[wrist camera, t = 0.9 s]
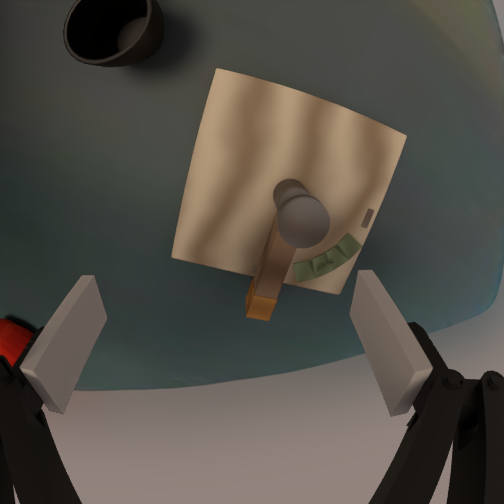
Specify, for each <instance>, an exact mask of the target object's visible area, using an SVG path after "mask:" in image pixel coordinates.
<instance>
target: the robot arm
mask: <svg viewBox="0 0 504 504" xmlns="http://www.w3.org/2000/svg"><path fill="white" fill-rule="evenodd" d="M349 315H350V317H351V320H352V322H353V324H354V327H355V329H356V331H357V334H358V336H359V338H360V341H361V343H362V345H363V348H364V350H365V353H366V355H367V357H368V360H369V362H370V364H371V367H372V370H373V372H374V375H375V377H376V380H377V382H378V385H379V387H380V390H381V392H382V395H383V398H384V400H385V403H386V405H387V408H388V411H389V413H390V416H391V417H392V416H396V415H401V414H405V413H407V412H408V411H409V409H410V407H411V406H412V404H413V406H414V409H415V411H416V412H415V413H414V415H413V416H412V418H411V419H410V421H409V422H408V424H407V426H408V429H407V431H406V433H405V436H404V438H403V440H402V442H401V444H400V446H399V448H398V451H397V453H396V455H395V457H394V459H393V461H392V462H391V464H390V467H389V468H388V470H387V472H386V474H385V476H384V478H383V479H382V481H381V483H380V485H379V487H378V488H377V490H376V492H375V494H374V495H373V497H372V499H371V500H370V502H369V504H429V503H430V500H431V498H432V496H433V493H434V491H435V489H436V486H437V484H438V481H439V478H440V476H441V473H442V471H443V468H444V465H445V462H446V459H447V457H448V454H449V451H450V447H451V444H452V441H453V451H452V464H451V475H450V483H449V490H448V498H447V504H504V377H503V376H502V375H501V374H499V373H498V372H495V371H487V372H485V373H484V374H483V376H482V378H481V379H480V380H475V379H465V378H464V377H463V376H462V375H461V374H460V373H459V372H457V371H455V370H452V369H448V367H447V366H446V364H445V362H444V361H443V359H442V357H441V356H440V354H439V352H438V351H437V349H436V348H435V346H434V345H433V343H432V341H431V340H430V339H429V337H428V335H427V333H426V332H425V330H424V329H423V328H422V327H421V326H420V325H418V324H417V323H416V322H411V323H406V321H405V319H404V318H403V316H402V315H401V313H400V311H399V310H398V308H397V307H396V305H395V304H394V302H393V300H392V299H391V297H390V296H389V294H388V293H387V291H386V290H385V288H384V287H383V285H382V284H381V282H380V281H379V279H378V278H377V276H376V275H375V273H374V272H373V270H358V274H357V280H356V285H355V290H354V295H353V300H352V305H351V309H350V314H349ZM106 320H107V315H106V312H105V309H104V306H103V303H102V300H101V297H100V293H99V290H98V287H97V283H96V280H95V277H94V275H82V276H81V277H80V279H79V280H78V281H77V283H76V284H75V285H74V287H73V288H72V289H71V291H70V292H69V293H68V295H67V296H66V298H65V299H64V300H63V302H62V303H61V304H60V306H59V307H58V309H57V310H56V312H55V313H54V314H53V316H52V317H51V319H50V320H49V322H48V323H47V325H46V326H45V327H41V328H40V329H38V330H37V331H36V332H35V333H34V334H33V336H32V337H31V339H30V340H29V342H28V343H27V345H26V346H25V349H23V351H22V353H21V354H20V356H19V357H18V359H17V361H16V362H15V364H14V365H13V367H12V366H11V365H10V363H9V362H8V360H7V358H6V357H5V356H4V355H0V504H15V497H14V489H13V485H14V488H15V491H16V494H17V497H18V500H19V502H20V504H82V503H81V501H80V499H79V497H78V495H77V493H76V491H75V489H74V487H73V485H72V483H71V481H70V478H69V476H68V474H67V472H66V470H65V468H64V465H63V463H62V461H61V458H60V456H59V453H58V451H57V448H56V445H55V443H54V440H53V438H52V435H51V432H50V429H49V426H48V423H47V420H46V417H45V414H44V412H43V411H42V409H41V407H42V405H43V403H44V404H45V405H46V407H47V408H48V409H49V411H52V412H56V413H60V414H64V412H65V409H66V407H67V404H68V402H69V400H70V397H71V395H72V392H73V390H74V388H75V386H76V383H77V381H78V379H79V376H80V374H81V372H82V370H83V368H84V365H85V363H86V361H87V359H88V357H89V355H90V353H91V350H92V348H93V346H94V344H95V342H96V340H97V338H98V336H99V334H100V332H101V330H102V328H103V326H104V324H105V322H106Z"/></svg>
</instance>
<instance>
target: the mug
mask: <svg viewBox="0 0 504 504" xmlns="http://www.w3.org/2000/svg"><path fill="white" fill-rule="evenodd" d="M163 32H164V19H163V14H162V11H161V9H160V6H159V4H158V2H157V1H156V0H77V1H76V2H75V3H74V5H73V6H72V8H71V10H70V11H69V13H68V15H67V18H66V21H65V24H64V30H63V36H64V43H65V46H66V49H67V50H68V52H69V53H70V55H71V56H72V57H74V58H75V59H76V60H77V61H80V62H82V63H85V64H90V65H96V66H103V67H120V66H126V65H130V64H133V63H136V62H139V61H141V60H143V59H145V58H147V57H149V56H151V55H152V54H153V53H154V52H155V51H156V50H157V49H158V48H159V46H160V45H161V42H162V40H163Z"/></svg>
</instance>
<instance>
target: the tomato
mask: <svg viewBox="0 0 504 504" xmlns="http://www.w3.org/2000/svg"><path fill="white" fill-rule="evenodd" d="M32 336H33V333H32V332H31V331H29V330H28V329H26V328H24V327H22V326H19V325H16V324H15V323H14V322H13V321H11V320H9V319H0V355H4V356H5V357H6V358H7V360H8V362H9V363H10V365H11V366H12V367H13V365H14V364H15V362H16V361H17V359H18V357H19V356H20V354H21V353H22V351H23V349H25V346H26V345H27V343H28V342H29V340H30V339H31V337H32Z"/></svg>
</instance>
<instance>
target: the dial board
mask: <svg viewBox="0 0 504 504" xmlns="http://www.w3.org/2000/svg"><path fill="white" fill-rule="evenodd" d="M406 138H407V136H406V135H404V134H402V133H400V132H398V131H396V130H394V129H392V128H390V127H387V126H385V125H383V124H381V123H379V122H377V121H374V120H372V119H370V118H368V117H365V116H363V115H361V114H358V113H356V112H354V111H351V110H349V109H346V108H344V107H341V106H339V105H336V104H334V103H331V102H329V101H326V100H323V99H321V98H318V97H315V96H312V95H309V94H307V93H304V92H301V91H298V90H295V89H292V88H288V87H285V86H282V85H279V84H276V83H272V82H269V81H265V80H262V79H258V78H255V77H251V76H247V75H243V74H239V73H235V72H231V71H227V70H222V69H218V68H217V69H216V72H215V75H214V78H213V82H212V85H211V89H210V92H209V95H208V99H207V102H206V106H205V110H204V113H203V117H202V121H201V124H200V128H199V132H198V136H197V140H196V144H195V148H194V152H193V156H192V160H191V164H190V169H189V173H188V177H187V182H186V186H185V191H184V195H183V200H182V205H181V209H180V214H179V219H178V224H177V229H176V234H175V240H174V245H173V251H172V256H171V257H172V258H176V259H180V260H185V261H189V262H193V263H197V264H201V265H206V266H210V267H214V268H219V269H223V270H227V271H232V272H236V273H241V274H245V275H249V276H255V273H256V270H257V267H258V264H259V261H260V258H261V255H262V252H263V249H264V247H265V244H266V241H267V238H268V235H269V232H270V229H271V226H272V223H273V220H274V217H275V214H276V211H277V209H276V206H275V203H274V199H273V191H274V188H275V186H276V185H277V184H278V183H279V182H281V181H282V180H285V179H295V180H297V181H299V182H300V183H302V185H303V186H304V187H305V189H306V190H307V191H308V193H309V194H310V196H313V197H315V198H316V199H318V200H319V201H320V202H321V203H322V205H323V206H324V207H325V209H326V210H327V212H328V214H329V217H330V228H329V231H328V233H327V235H326V237H325V238H324V239H323V240H322V241H321V242H320V243H318V244H317V245H315V246H313V247H310V248H304V249H301V248H297V249H296V252H295V254H294V257H293V259H292V262H291V264H290V267H289V269H288V272H287V274H286V277H285V279H284V282H283V283H286V284H290V285H295V286H299V287H304V288H309V289H313V290H318V291H323V292H328V293H333V294H337V295H339V294H340V292H341V290H342V288H343V286H344V284H345V282H346V280H347V278H348V276H349V274H350V272H351V270H352V268H353V266H354V264H355V262H356V260H357V257H358V255H359V253H360V251H361V249H362V247H363V244H364V242H365V240H366V238H367V236H368V233H369V231H370V229H371V227H372V224H373V222H374V220H375V217H376V215H377V213H378V210H379V208H380V205H381V203H382V201H383V198H384V196H385V193H386V191H387V188H388V186H389V183H390V181H391V178H392V176H393V173H394V170H395V168H396V165H397V162H398V160H399V157H400V154H401V152H402V149H403V146H404V143H405V140H406Z"/></svg>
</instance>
